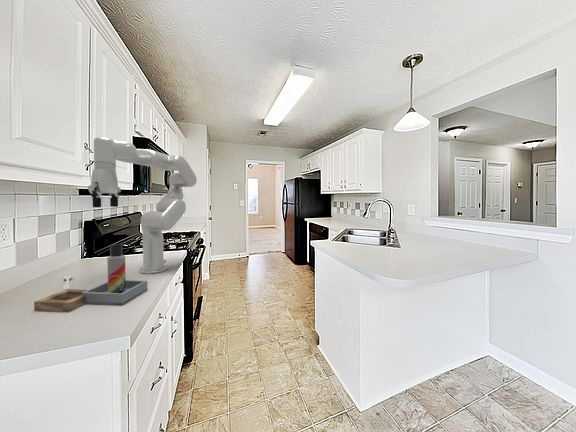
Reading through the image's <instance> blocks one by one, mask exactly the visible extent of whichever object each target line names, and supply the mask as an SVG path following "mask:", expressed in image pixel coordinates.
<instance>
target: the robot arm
mask: <svg viewBox="0 0 576 432" xmlns="http://www.w3.org/2000/svg"><path fill="white" fill-rule="evenodd" d="M117 161H118V162H123V163H128V164H132V165H133V164H134V165H138V166H139V165H140V166H146V167H151V168H155V169H158V170H163V171H168V172H174V171H175V172H174V173H172V174H170V176H169V179H168V183H169V190H168V192H167V193H165V195H164V196H163V197H162V198H161V199H160V200H159V201H158V202H157V203H156V207H155V211H154V210H153V211H152V210H151V211H145V212H144V213H143V214H142V215H141V217H140V226H141V227H140V228H141V232H142V268H140V269H139V273H140V274H147V275H148V274H149V275H150V274H159V273H162V272H165V271H166V270H168V269H167V266H165V265H164V264H166V263H167V259H166V258H165V259H164V234H163V231H169V230H171V229H172V228H173V227H175V225H176V224H177V223H178V222H179V221H180V219H181V218H182V217H183V216H184V214H185V212H186V211H187V210H186V209H187V205H186V202H185V201H184V200H183V199H184V192H183V191H184V190H183V188H191V187H194V186H195V185H196V184H197V181H198V178H197V176H196V173H195V172H194V171H193V169H192V167H191V166H190V164H189V163H188V161H187V160H186V159H185V157H184V156H182V155H181V154H172V155H169V154H166V153H163V152H159V151H158V150H153V149H147V148H145V149H144V148H136V146H135V145H134V144H133V143H131V142H130V141H126V140H115V139H112V138H109V137H103V136H98V137H94V139H93V163H94V164H93V168H92V169H93V170H92V171H91V176H90V177H91V179H90V185H88V186H87V190H88V193H89V195H90V197H91V198H92V207H93V208H101V207H102V195H103V194H108V195H109V196H110V198H109V201H110V202H109V203H110V204H109V206H110V207H113V208H114V207H115V208H118V207H119V198H120V195H121V191H122V188H121V187H119V183H118V182H119V181H118V175H117V171H116V170H117V166H116V165H117Z"/></svg>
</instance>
